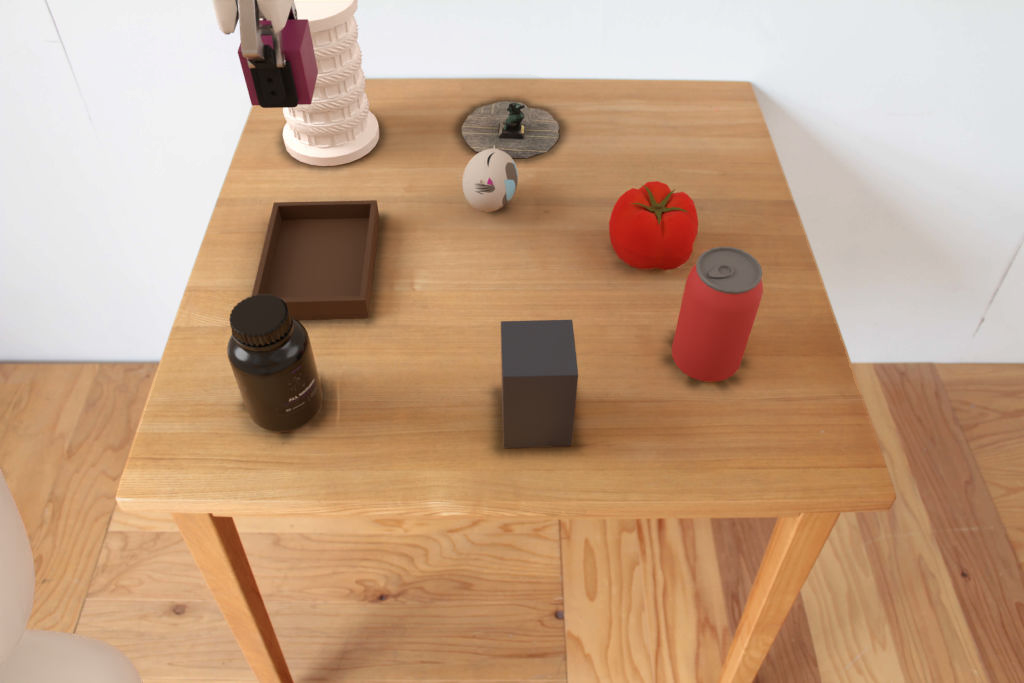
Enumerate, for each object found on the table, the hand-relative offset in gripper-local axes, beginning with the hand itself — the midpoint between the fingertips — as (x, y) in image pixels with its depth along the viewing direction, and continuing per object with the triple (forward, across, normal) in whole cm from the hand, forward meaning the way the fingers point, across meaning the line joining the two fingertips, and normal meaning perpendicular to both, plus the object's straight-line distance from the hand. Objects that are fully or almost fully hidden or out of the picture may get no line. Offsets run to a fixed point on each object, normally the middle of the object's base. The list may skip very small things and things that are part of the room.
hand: (284, 84), depth 73 cm
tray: (+22, 0, -1) cm, 22 cm away
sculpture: (+22, -24, +20) cm, 39 cm away
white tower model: (+22, -23, -2) cm, 32 cm away
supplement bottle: (+22, +18, -2) cm, 28 cm away
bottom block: (+22, +20, +21) cm, 36 cm away
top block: (0, 0, 0) cm, 0 cm away
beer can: (+22, +14, +38) cm, 46 cm away
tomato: (+22, -1, +34) cm, 41 cm away
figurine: (+22, -10, +17) cm, 30 cm away
